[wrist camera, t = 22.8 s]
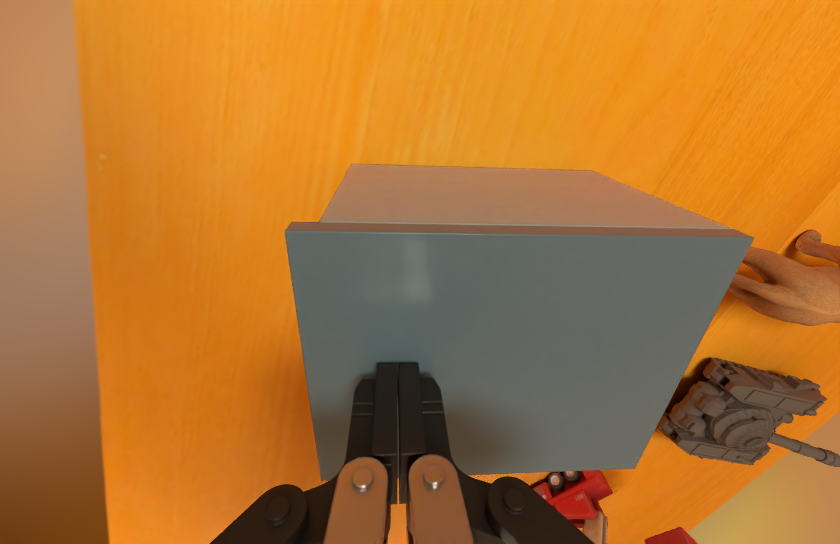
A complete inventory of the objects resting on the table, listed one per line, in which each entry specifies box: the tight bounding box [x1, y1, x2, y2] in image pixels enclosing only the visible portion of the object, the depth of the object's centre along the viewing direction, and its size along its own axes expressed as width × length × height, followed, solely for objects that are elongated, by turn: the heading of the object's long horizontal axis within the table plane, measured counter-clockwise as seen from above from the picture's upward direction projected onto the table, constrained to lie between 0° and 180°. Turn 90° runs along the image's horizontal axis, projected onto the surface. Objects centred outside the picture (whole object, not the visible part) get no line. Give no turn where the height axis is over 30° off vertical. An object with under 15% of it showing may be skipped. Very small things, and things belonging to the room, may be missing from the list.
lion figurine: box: [727, 230, 840, 326], centre depth 19 cm, size 15×5×9 cm, turn 96°
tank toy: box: [657, 358, 840, 467], centre depth 28 cm, size 12×10×5 cm
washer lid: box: [285, 222, 754, 481], centre depth 13 cm, size 14×12×1 cm
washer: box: [319, 164, 731, 229], centre depth 18 cm, size 14×12×9 cm
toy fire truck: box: [533, 470, 697, 544], centre depth 29 cm, size 3×14×10 cm, turn 132°
